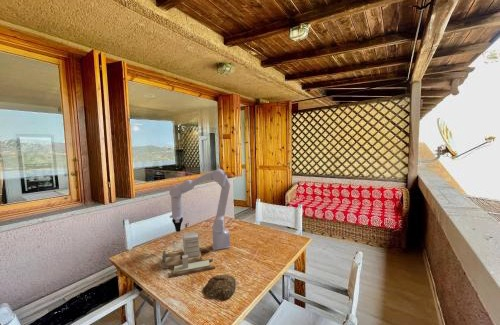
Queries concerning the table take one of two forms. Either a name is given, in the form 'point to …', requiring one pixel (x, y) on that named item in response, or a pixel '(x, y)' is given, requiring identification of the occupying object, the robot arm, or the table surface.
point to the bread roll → (220, 287)
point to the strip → (190, 265)
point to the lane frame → (194, 269)
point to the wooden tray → (176, 259)
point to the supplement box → (191, 244)
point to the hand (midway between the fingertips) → (178, 231)
